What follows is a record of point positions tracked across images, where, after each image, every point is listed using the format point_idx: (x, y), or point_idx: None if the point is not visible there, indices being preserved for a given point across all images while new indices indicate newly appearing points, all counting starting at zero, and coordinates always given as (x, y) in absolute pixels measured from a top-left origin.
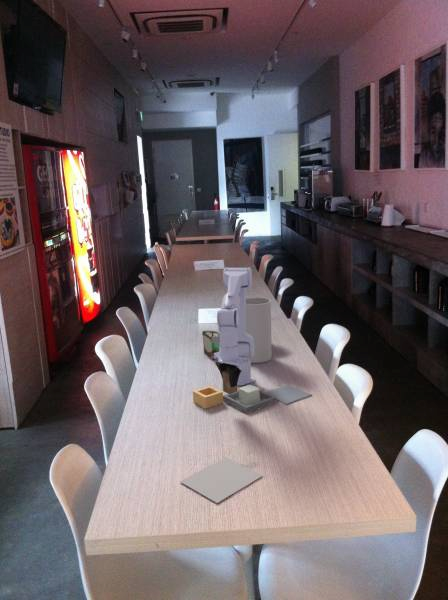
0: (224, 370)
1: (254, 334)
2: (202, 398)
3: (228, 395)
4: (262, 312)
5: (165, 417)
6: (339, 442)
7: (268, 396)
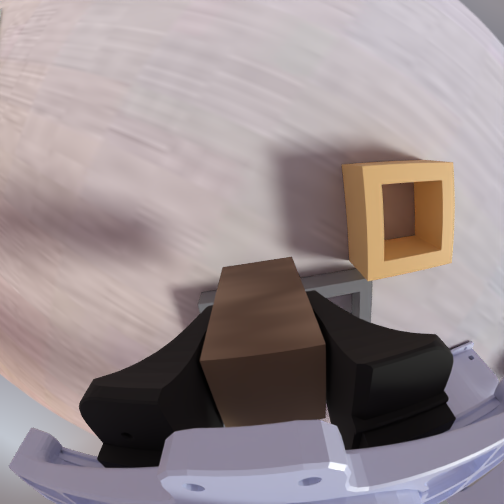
0: (331, 368)
1: None
2: (379, 164)
3: (359, 299)
4: None
5: (343, 4)
6: (11, 361)
7: None
